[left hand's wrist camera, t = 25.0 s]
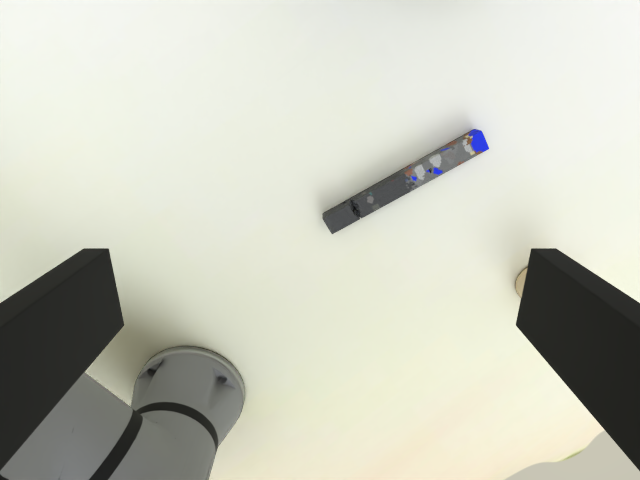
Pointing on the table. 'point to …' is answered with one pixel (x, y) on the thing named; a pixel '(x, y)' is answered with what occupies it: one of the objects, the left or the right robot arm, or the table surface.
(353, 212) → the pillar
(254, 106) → the table surface
